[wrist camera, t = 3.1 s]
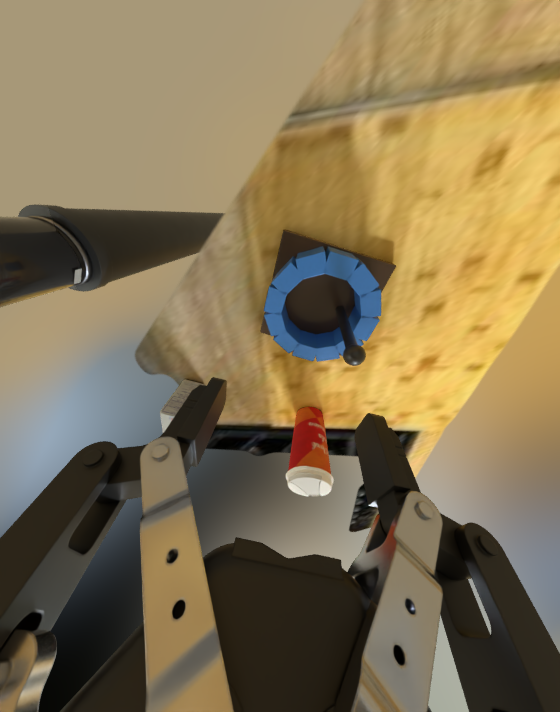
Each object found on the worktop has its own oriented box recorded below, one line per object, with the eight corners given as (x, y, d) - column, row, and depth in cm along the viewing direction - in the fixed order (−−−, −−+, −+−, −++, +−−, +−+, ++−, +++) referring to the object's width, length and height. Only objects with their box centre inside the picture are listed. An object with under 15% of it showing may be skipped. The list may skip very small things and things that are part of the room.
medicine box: (184, 377, 41) (158, 411, 34) (205, 383, 41) (184, 418, 34) (184, 402, 45) (161, 436, 38) (203, 407, 46) (184, 442, 39)
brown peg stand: (261, 328, 32) (237, 385, 21) (284, 229, 24) (263, 240, 13) (344, 352, 33) (360, 419, 22) (393, 263, 25) (457, 300, 14)
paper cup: (331, 424, 43) (339, 498, 32) (298, 428, 46) (294, 498, 34) (322, 399, 40) (327, 473, 28) (286, 405, 42) (277, 476, 31)
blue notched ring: (261, 331, 31) (256, 345, 28) (284, 232, 23) (280, 235, 20) (344, 355, 32) (348, 371, 28) (394, 267, 24) (407, 275, 21)
